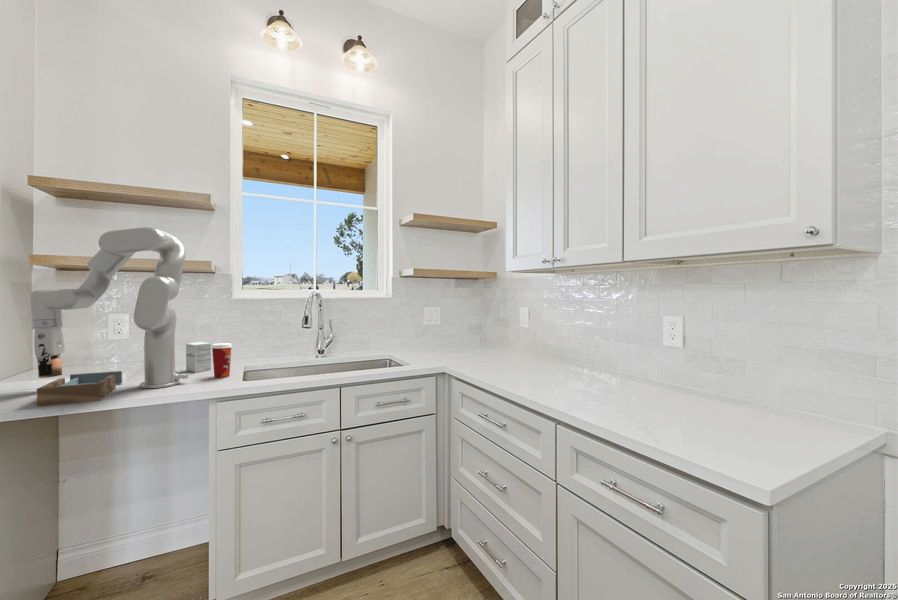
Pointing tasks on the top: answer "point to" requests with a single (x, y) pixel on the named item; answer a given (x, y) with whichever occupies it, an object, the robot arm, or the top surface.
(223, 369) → the paper cup
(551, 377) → the top surface
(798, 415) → the top surface
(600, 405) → the top surface
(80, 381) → the tray
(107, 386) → the brown wooden open box
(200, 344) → the supplement box
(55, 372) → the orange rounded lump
